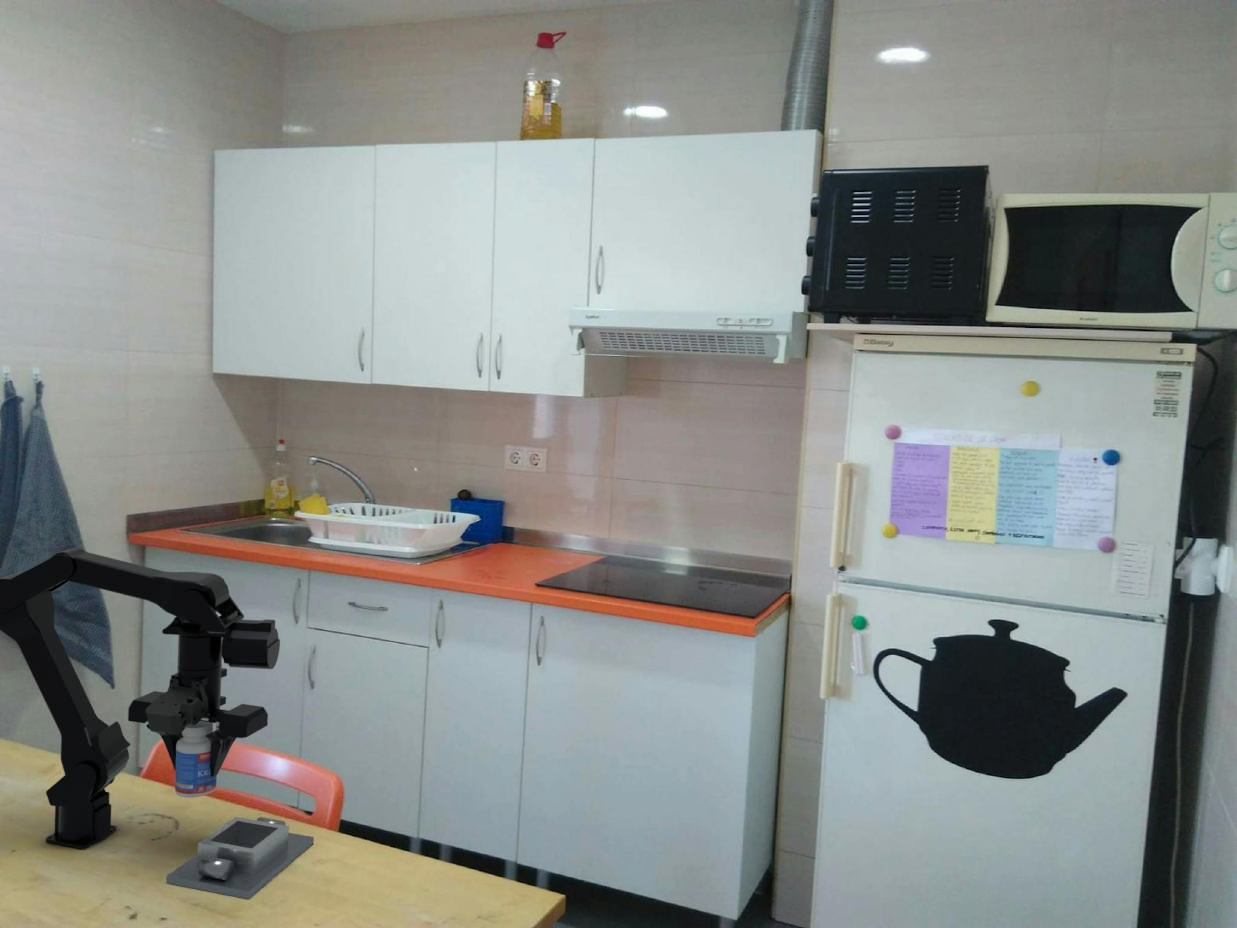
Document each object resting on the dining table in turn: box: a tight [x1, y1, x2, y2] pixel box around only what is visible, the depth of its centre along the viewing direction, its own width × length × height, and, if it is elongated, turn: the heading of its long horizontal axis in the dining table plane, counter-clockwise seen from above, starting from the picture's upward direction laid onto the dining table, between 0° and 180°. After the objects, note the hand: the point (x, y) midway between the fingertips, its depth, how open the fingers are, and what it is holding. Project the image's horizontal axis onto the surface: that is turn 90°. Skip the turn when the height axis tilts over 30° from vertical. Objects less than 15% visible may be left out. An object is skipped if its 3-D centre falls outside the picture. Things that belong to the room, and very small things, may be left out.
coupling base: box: [165, 816, 315, 900], centre depth 133 cm, size 12×16×4 cm
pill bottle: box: [174, 721, 218, 799], centre depth 137 cm, size 6×5×10 cm
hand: (196, 772), depth 137 cm, fingers closed on pill bottle, 5 cm apart
